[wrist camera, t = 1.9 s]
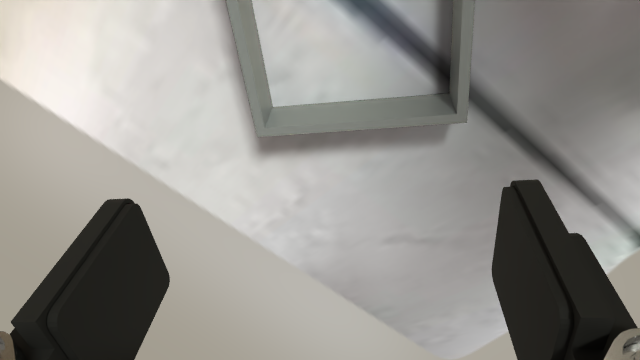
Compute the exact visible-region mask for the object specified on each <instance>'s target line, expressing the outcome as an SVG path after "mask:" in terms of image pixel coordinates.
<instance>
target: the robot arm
mask: <svg viewBox="0 0 640 360" xmlns="http://www.w3.org/2000/svg"><path fill="white" fill-rule="evenodd" d="M492 277H493V282H494V285H495V288H496V292H497V295H498V298H499V301H500V305H501V308H502V311H503V314H504V317H505V321H506V324H507V327H508V330H509V334H510V337H511V340H512V343H513V346H514V350H515V353H516V356H517V359H518V360H640V328H637V326H636V324H635V323H634V321H633V319H632V318H631V316H630V314H629V313H628V311H627V309H626V308H625V306H624V304H623V303H622V301H621V299H620V298H619V296H618V294H617V292H616V291H615V289H614V287H613V286H612V284H611V282H610V281H609V279H608V277H607V276H606V274H605V272H604V270H603V269H602V267H601V265H600V264H599V262H598V260H597V259H596V257H595V255H594V254H593V252H592V250H591V249H590V247H589V245H588V244H587V242H586V240H585V239H584V238H583V236H582V235H580V234H578V233H568V231H567V229H566V227H565V225H564V224H563V222H562V220H561V218H560V216H559V215H558V213H557V211H556V209H555V208H554V206H553V204H552V202H551V200H550V199H549V197H548V195H547V193H546V191H545V190H544V188H543V186H542V184H541V183H540V181H539V180H519V181H512V182H511V185H510V187H504V188H503V190H502V196H501V203H500V211H499V218H498V226H497V233H496V240H495V248H494V255H493V263H492ZM169 282H170V279H169V273H168V271H167V269H166V266H165V264H164V262H163V259H162V257H161V254H160V252H159V250H158V247H157V245H156V243H155V240H154V238H153V236H152V233H151V231H150V229H149V226H148V224H147V221H146V219H145V217H144V215H143V212H142V210H141V208H140V206H139V205H138V204H135V203H134V202H133V201H132V200H131V199H110V200H107V201H106V202H104V204H103V205H102V206H101V207H100V209H99V210H98V211H97V213H96V214H95V215H94V216H93V218H92V219H91V220H90V221H89V223H88V224H87V225H86V227H85V228H84V229H83V230H82V232H81V233H80V234H79V235H78V237H77V238H76V239H75V241H74V242H73V243H72V244H71V246H70V247H69V248H68V250H67V251H66V252H65V253H64V255H63V256H62V257H61V259H60V260H59V261H58V262H57V263H56V265H55V266H54V267H53V269H52V270H51V271H50V272H49V274H48V275H47V276H46V278H45V279H44V280H43V281H42V283H41V284H40V285H39V287H38V288H37V289H36V290H35V292H34V293H33V294H32V295H31V297H30V298H29V299H28V300H27V302H26V303H25V304H24V306H23V307H22V308H21V309H20V311H19V312H18V313H17V315H16V316H15V317H14V319H13V320H12V321H11V323H12V324H13V326H14V327H15V328H14V330H13V331H12V332H11V333H10V334H8V333H6V332H4V331H0V360H134V359H135V357H136V355H137V352H138V350H139V348H140V346H141V344H142V342H143V340H144V338H145V335H146V333H147V331H148V329H149V327H150V325H151V323H152V321H153V319H154V317H155V314H156V312H157V310H158V308H159V306H160V304H161V302H162V300H163V298H164V295H165V293H166V291H167V289H168V287H169Z"/></svg>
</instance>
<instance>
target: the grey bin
mask: <svg viewBox="0 0 640 360" xmlns="http://www.w3.org/2000/svg"><path fill="white" fill-rule="evenodd" d="M226 3H227V7H228V12H229V16H230V21H231V25H232V29H233V34H234V38H235V42H236V47H237V51H238V55H239V60H240V64H241V68H242V73H243V77H244V81H245V86H246V90H247V94H248V99H249V103H250V108H251V112H252V116H253V121H254V125H255V129H256V134H257V137H268V136H282V135H296V134H311V133H325V132H339V131H354V130H368V129H382V128H397V127H411V126H425V125H440V124H454V123H467V115H468V99H469V84H470V69H471V53H472V38H473V23H474V7H475V0H453V12H452V38H451V63H450V89H449V93H448V94H435V95H422V96H410V97H397V98H384V99H372V100H359V101H346V102H334V103H321V104H308V105H296V106H283V107H273V106H272V101H271V96H270V90H269V85H268V80H267V75H266V70H265V65H264V60H263V55H262V50H261V45H260V40H259V35H258V30H257V25H256V20H255V15H254V10H253V5H252V0H226Z"/></svg>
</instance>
